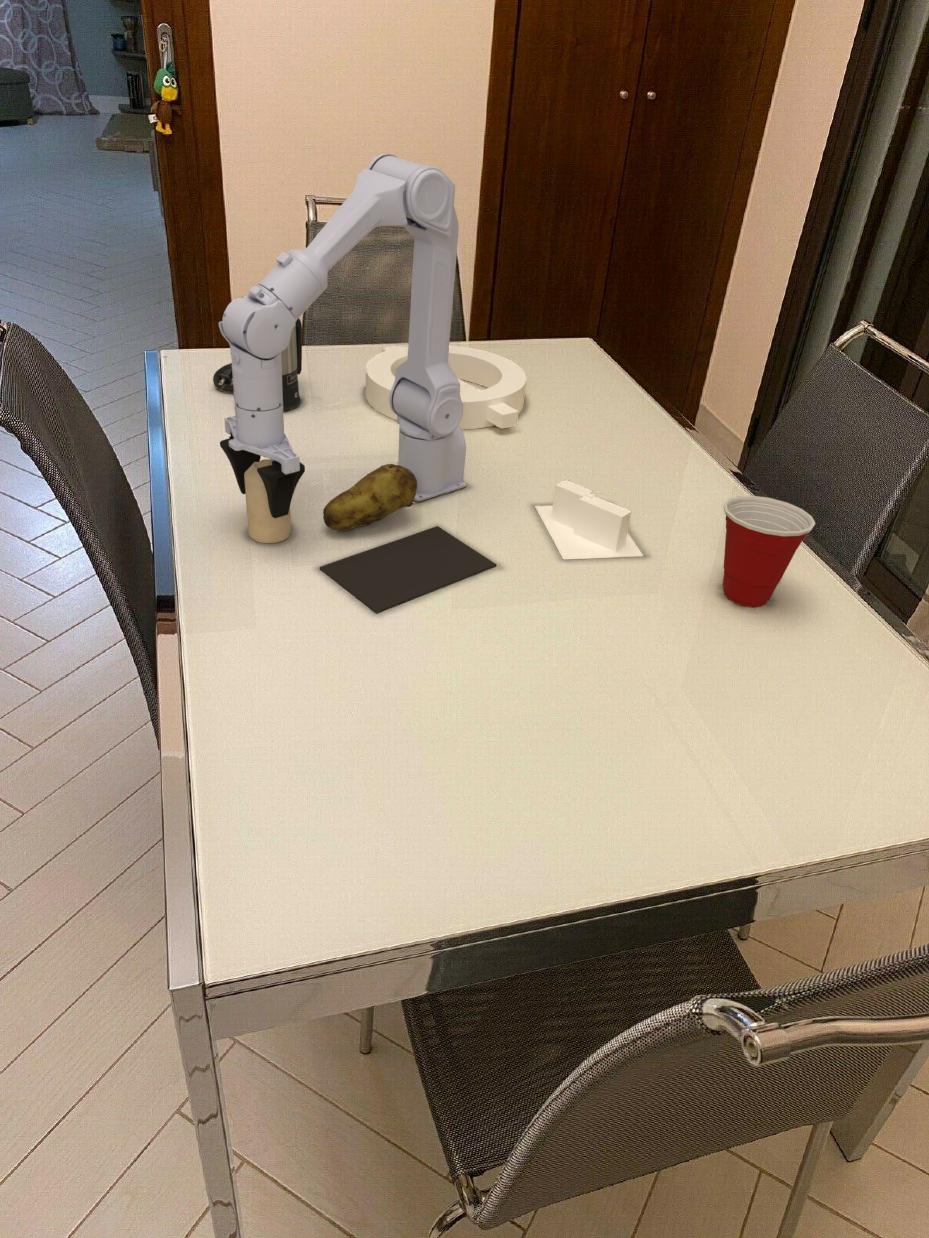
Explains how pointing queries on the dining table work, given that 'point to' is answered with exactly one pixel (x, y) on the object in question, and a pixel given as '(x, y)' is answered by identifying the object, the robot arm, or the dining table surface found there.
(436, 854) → the dining table surface
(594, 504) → the napkin holder
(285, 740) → the dining table surface
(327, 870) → the dining table surface
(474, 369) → the white circle with bar
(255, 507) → the candle
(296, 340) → the milk frother
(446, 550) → the mat
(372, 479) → the potato
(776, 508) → the plastic cup
